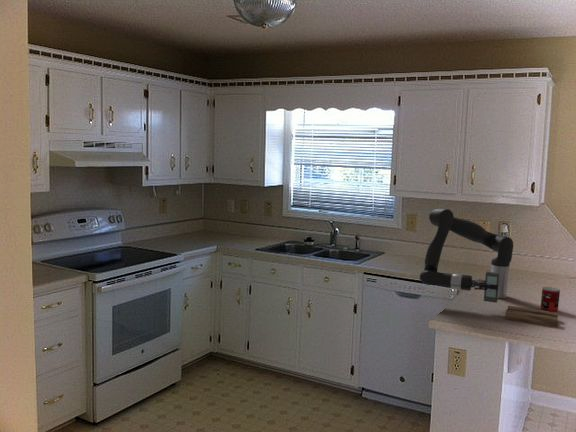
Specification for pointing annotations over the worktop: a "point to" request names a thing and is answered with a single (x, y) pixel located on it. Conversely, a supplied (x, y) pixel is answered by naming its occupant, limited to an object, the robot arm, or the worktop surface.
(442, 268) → the worktop surface
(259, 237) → the worktop surface
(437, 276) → the robot arm
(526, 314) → the brown grooved block
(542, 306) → the canned food
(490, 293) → the grey rectangular block
